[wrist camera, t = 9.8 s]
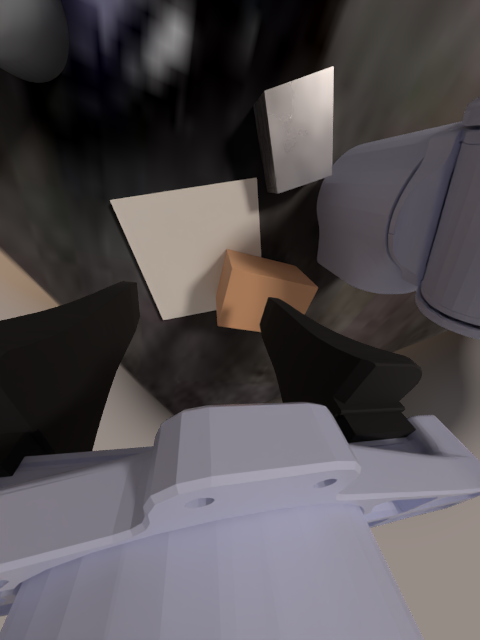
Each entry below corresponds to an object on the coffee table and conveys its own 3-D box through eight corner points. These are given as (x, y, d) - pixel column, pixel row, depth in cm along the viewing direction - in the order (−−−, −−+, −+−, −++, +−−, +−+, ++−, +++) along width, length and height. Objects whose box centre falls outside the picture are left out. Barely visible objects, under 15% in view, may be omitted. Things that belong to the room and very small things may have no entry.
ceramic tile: (262, 298, 22) (263, 300, 21) (164, 317, 21) (163, 320, 21) (255, 177, 15) (256, 177, 15) (112, 199, 15) (109, 200, 14)
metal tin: (312, 175, 16) (332, 175, 14) (266, 191, 16) (277, 193, 14) (309, 86, 13) (333, 65, 11) (252, 107, 13) (264, 91, 11)
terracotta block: (226, 248, 18) (295, 265, 19) (215, 297, 20) (277, 308, 22) (232, 268, 14) (318, 287, 15) (217, 325, 16) (292, 336, 18)
